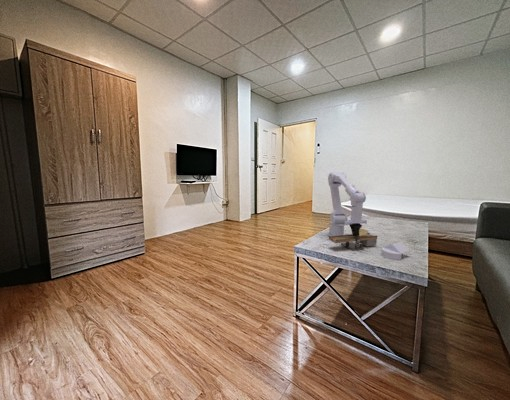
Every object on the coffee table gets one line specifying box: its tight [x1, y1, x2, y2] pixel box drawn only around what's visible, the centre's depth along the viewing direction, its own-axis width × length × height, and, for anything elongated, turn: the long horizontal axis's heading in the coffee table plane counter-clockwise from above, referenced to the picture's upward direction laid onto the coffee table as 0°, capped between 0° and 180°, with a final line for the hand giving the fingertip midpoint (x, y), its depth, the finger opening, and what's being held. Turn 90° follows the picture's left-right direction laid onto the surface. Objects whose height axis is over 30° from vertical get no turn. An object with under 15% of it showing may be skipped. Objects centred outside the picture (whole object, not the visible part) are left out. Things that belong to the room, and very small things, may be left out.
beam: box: [328, 232, 378, 247], centre depth 125 cm, size 6×29×6 cm, turn 106°
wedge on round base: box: [380, 241, 410, 261], centre depth 113 cm, size 9×7×13 cm
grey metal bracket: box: [340, 234, 365, 252], centre depth 125 cm, size 10×8×6 cm
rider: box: [356, 228, 369, 237], centre depth 126 cm, size 4×6×4 cm, turn 106°
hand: (354, 235), depth 124 cm, fingers closed
